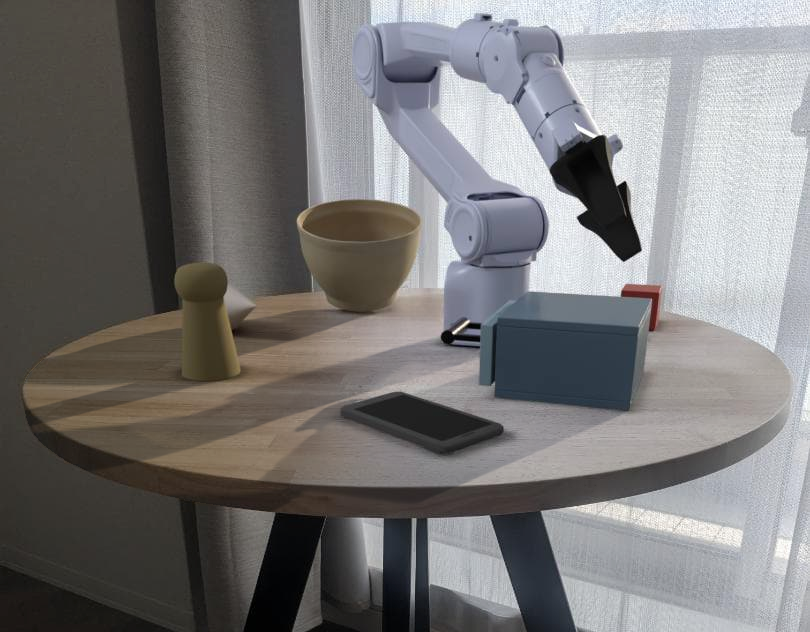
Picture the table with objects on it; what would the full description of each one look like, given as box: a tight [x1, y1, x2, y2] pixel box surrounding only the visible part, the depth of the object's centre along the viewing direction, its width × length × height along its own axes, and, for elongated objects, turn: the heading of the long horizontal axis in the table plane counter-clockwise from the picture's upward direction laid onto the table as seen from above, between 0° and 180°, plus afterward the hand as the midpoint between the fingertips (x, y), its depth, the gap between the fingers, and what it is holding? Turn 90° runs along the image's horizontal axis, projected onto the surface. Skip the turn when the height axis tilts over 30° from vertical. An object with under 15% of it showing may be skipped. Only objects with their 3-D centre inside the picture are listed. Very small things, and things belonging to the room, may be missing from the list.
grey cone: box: [224, 281, 257, 331], centre depth 105 cm, size 6×6×15 cm
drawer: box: [440, 300, 516, 387], centre depth 85 cm, size 16×11×6 cm
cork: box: [173, 261, 241, 382], centre depth 88 cm, size 6×6×11 cm
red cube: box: [620, 283, 663, 331], centre depth 107 cm, size 4×4×4 cm
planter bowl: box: [296, 198, 423, 312], centre depth 115 cm, size 16×16×11 cm
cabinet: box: [494, 290, 652, 411], centre depth 84 cm, size 13×13×8 cm
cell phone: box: [339, 390, 505, 454], centre depth 75 cm, size 7×14×1 cm, turn 42°
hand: (624, 239), depth 81 cm, fingers open, 7 cm apart
